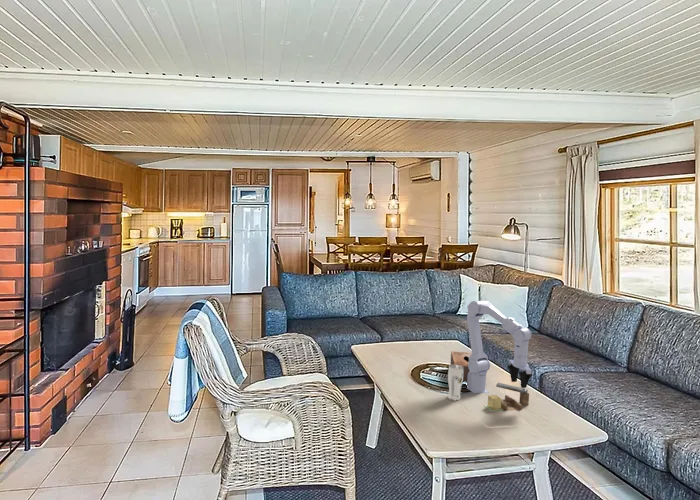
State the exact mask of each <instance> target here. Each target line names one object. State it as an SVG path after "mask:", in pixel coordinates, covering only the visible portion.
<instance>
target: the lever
mask: <svg viewBox="0 0 700 500" xmlns="http://www.w3.org/2000/svg"><path fill="white" fill-rule="evenodd" d="M495 385H496V387H495V388H499V389H500V388H501V389H504V390H509V391H513V392H517V393H520V392H521V393H529V391H528V389H527V388H521V386H515V385H510V384H506V383H503V382H498V383H496V384H495Z"/></svg>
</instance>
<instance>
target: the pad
mask: <svg viewBox="0 0 700 500" xmlns="http://www.w3.org/2000/svg"><path fill="white" fill-rule="evenodd" d="M484 407H485V408H486V409H487V410H489V411H490V412H503V411H504V410H503V409H501V410H492V409H490V408H489V407H488V404H487V405H484Z"/></svg>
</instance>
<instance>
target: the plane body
mask: <svg viewBox="0 0 700 500" xmlns="http://www.w3.org/2000/svg"><path fill="white" fill-rule="evenodd" d="M529 400H530V393H529V392H528V393H521V392H519V402H518V401H517V400H515V399H514V398H513V397H511V396H509V395H508V394H505V395H504V399H502V398H501V409H502V410H503V411H522V410H523V406H529V402H530V401H529Z"/></svg>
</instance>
